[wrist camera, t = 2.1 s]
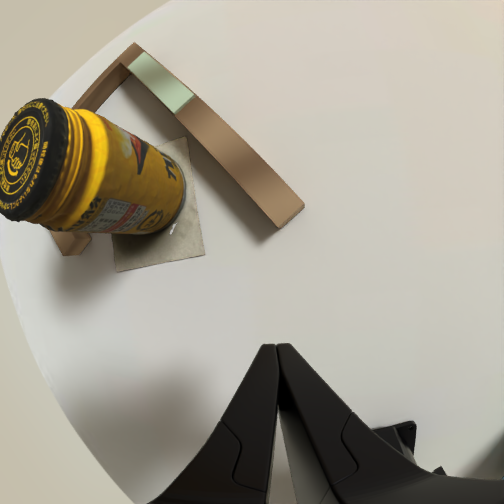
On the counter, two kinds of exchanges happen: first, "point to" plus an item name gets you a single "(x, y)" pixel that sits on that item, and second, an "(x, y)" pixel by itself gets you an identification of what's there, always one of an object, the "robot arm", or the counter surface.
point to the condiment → (99, 183)
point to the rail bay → (202, 128)
